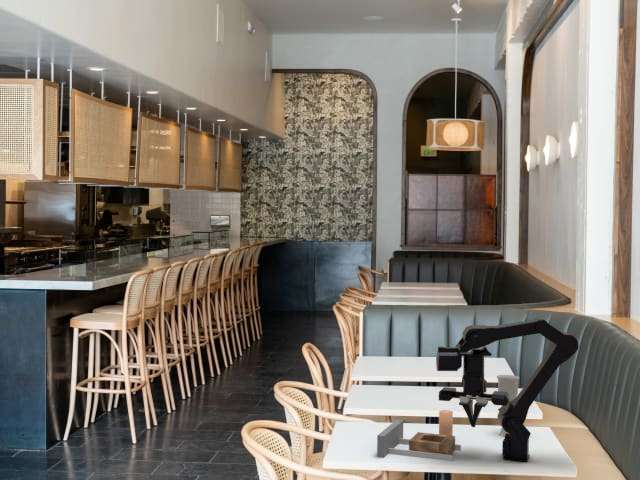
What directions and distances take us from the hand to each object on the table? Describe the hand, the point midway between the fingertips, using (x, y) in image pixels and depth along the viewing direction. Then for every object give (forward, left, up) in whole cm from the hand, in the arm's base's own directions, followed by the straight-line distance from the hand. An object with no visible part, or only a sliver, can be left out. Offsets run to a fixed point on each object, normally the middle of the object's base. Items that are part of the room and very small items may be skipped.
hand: (473, 426), depth 225 cm
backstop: (+15, 0, -9) cm, 17 cm away
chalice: (-5, -28, -9) cm, 30 cm away
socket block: (+12, 0, -9) cm, 14 cm away
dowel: (+11, -13, -9) cm, 19 cm away
